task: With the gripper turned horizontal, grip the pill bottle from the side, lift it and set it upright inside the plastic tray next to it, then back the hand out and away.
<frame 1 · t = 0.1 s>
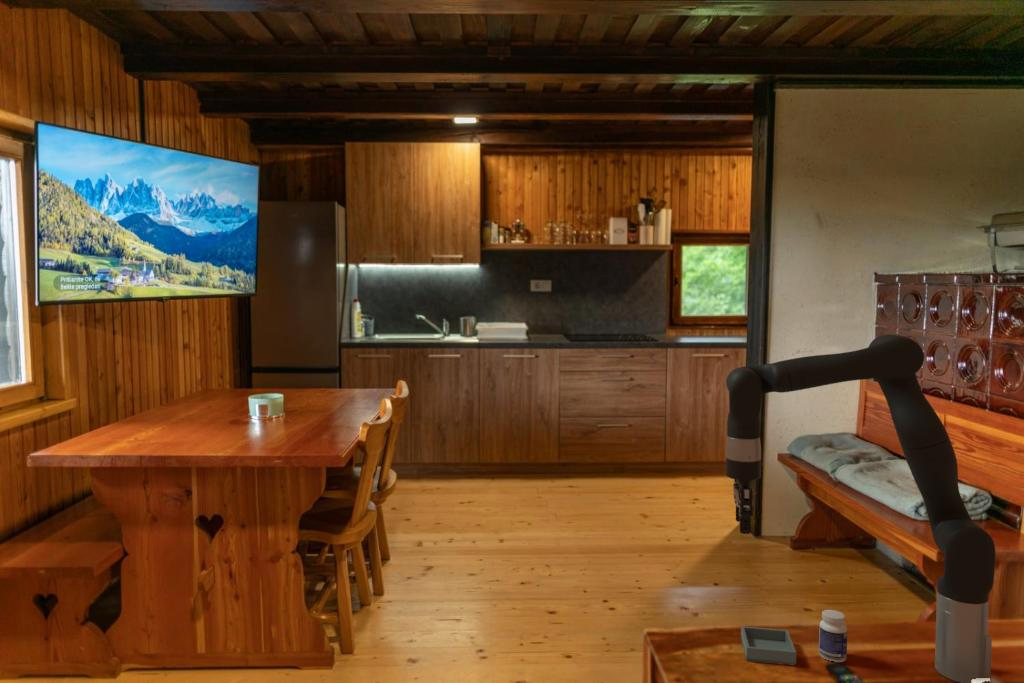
hand: (742, 527, 154), 29 cm above the table, tool pointing down, fingers open, 8 cm apart
pill bottle: (832, 657, 154), on the table
tray: (767, 651, 156), on the table
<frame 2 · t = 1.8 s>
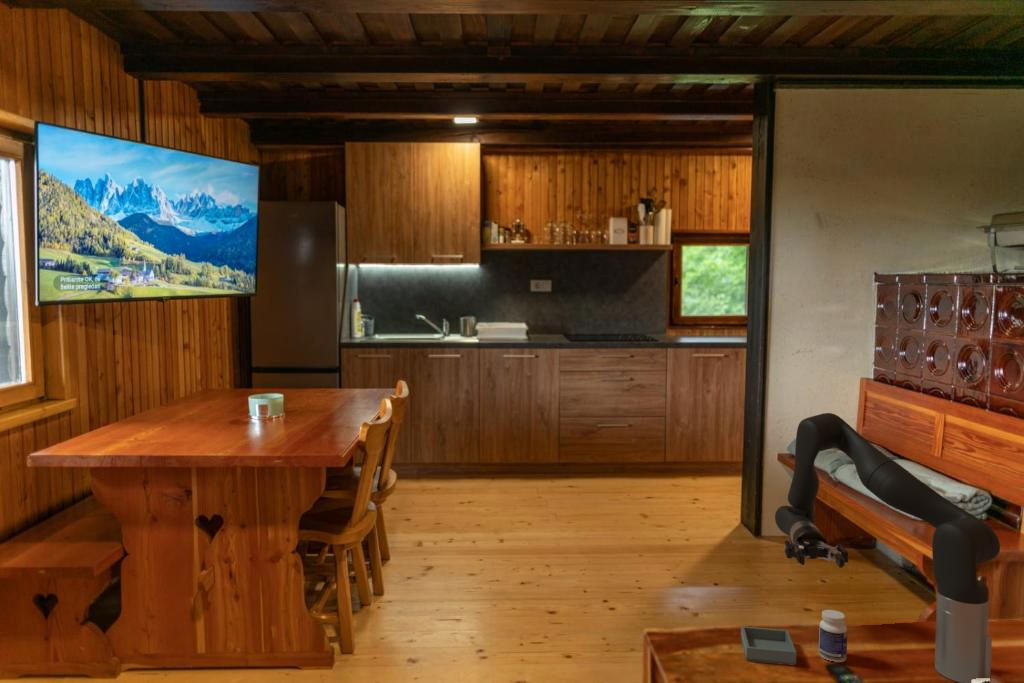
hand: (822, 562, 163), 17 cm above the table, tool horizontal, fingers open, 8 cm apart
nothing on the table moved.
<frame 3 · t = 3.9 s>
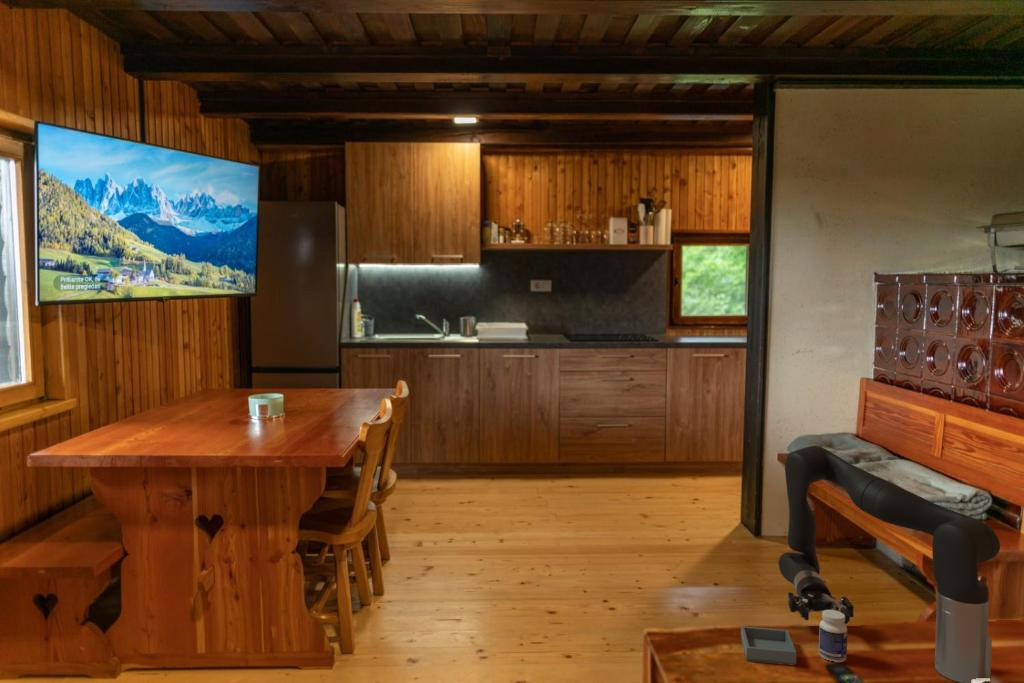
hand: (826, 618, 159), 6 cm above the table, tool horizontal, fingers open, 8 cm apart
nothing on the table moved.
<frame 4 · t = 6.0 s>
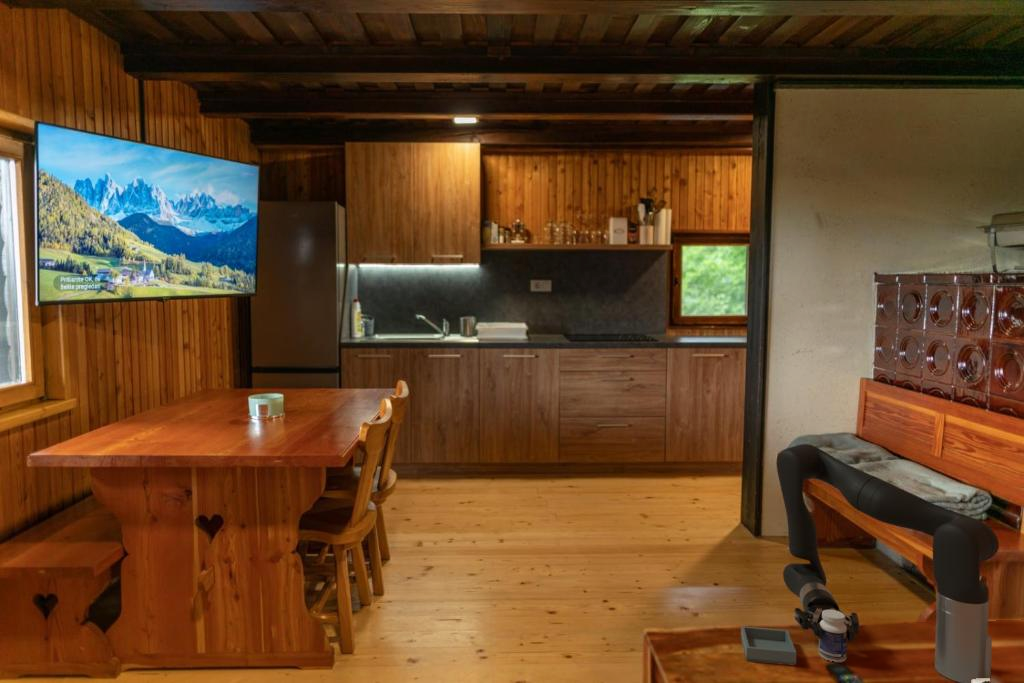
hand: (836, 635, 151), 6 cm above the table, tool horizontal, fingers closed on pill bottle, 5 cm apart
pill bottle: (832, 657, 154), on the table, touching gripper
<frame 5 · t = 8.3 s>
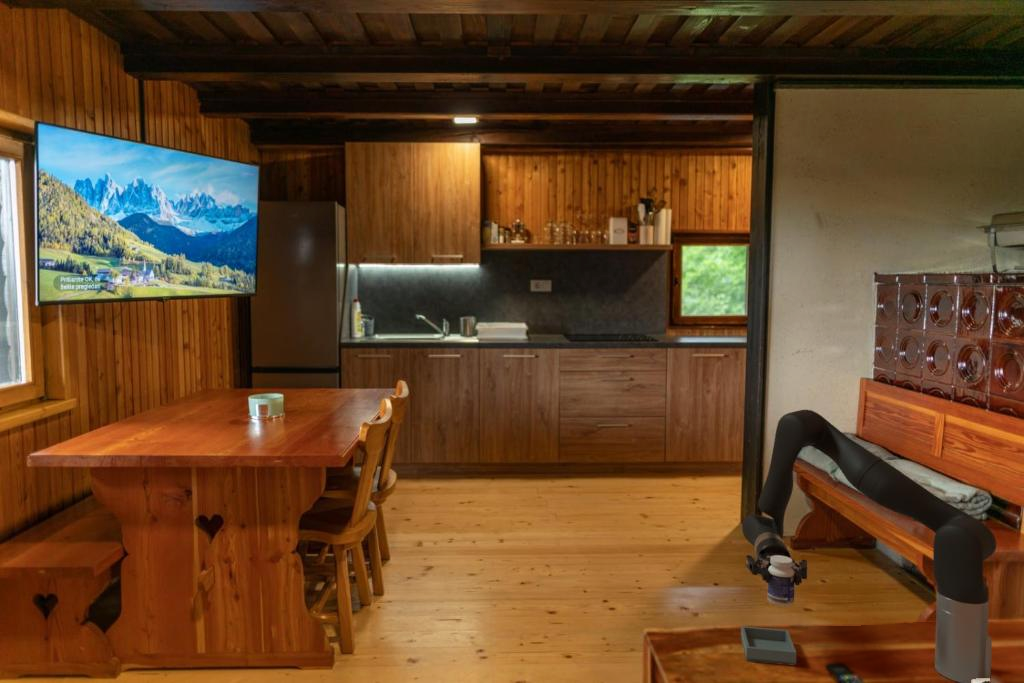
hand: (782, 579, 153), 18 cm above the table, tool horizontal, fingers closed on pill bottle, 5 cm apart
pill bottle: (780, 601, 156), point 12 cm above the table, touching gripper
when the fingers open (8 cm above the table, at t = 10.9 s): pill bottle drops 1 cm, resting on tray.
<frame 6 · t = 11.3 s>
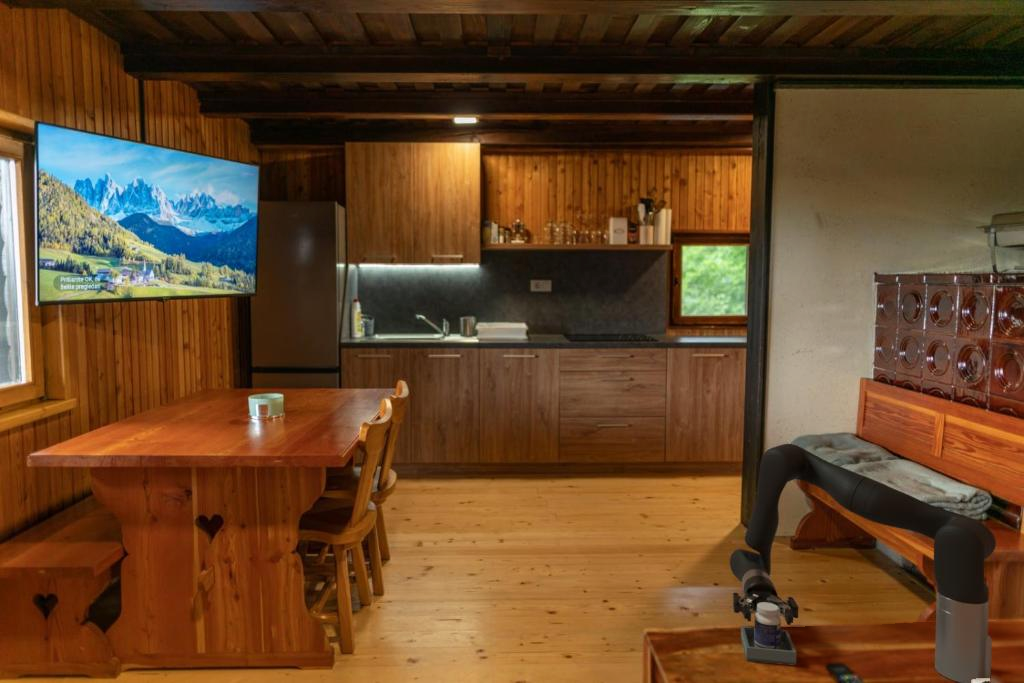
hand: (769, 619, 154), 8 cm above the table, tool horizontal, fingers open, 8 cm apart
pill bottle: (767, 649, 156), resting on tray
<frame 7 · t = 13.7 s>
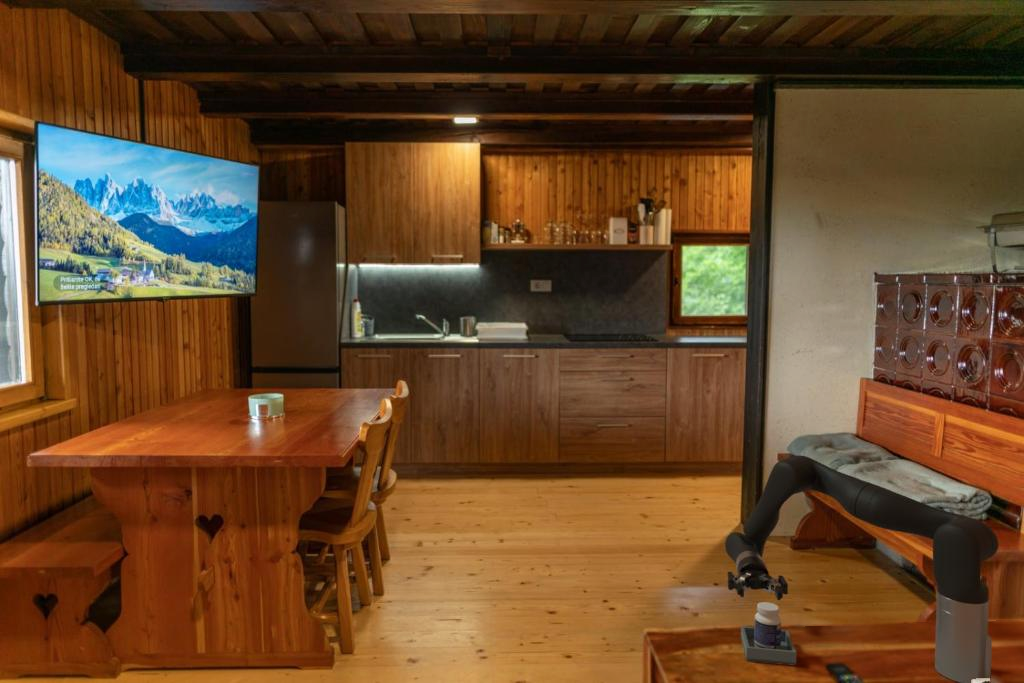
hand: (760, 594, 166), 9 cm above the table, tool horizontal, fingers open, 8 cm apart
nothing on the table moved.
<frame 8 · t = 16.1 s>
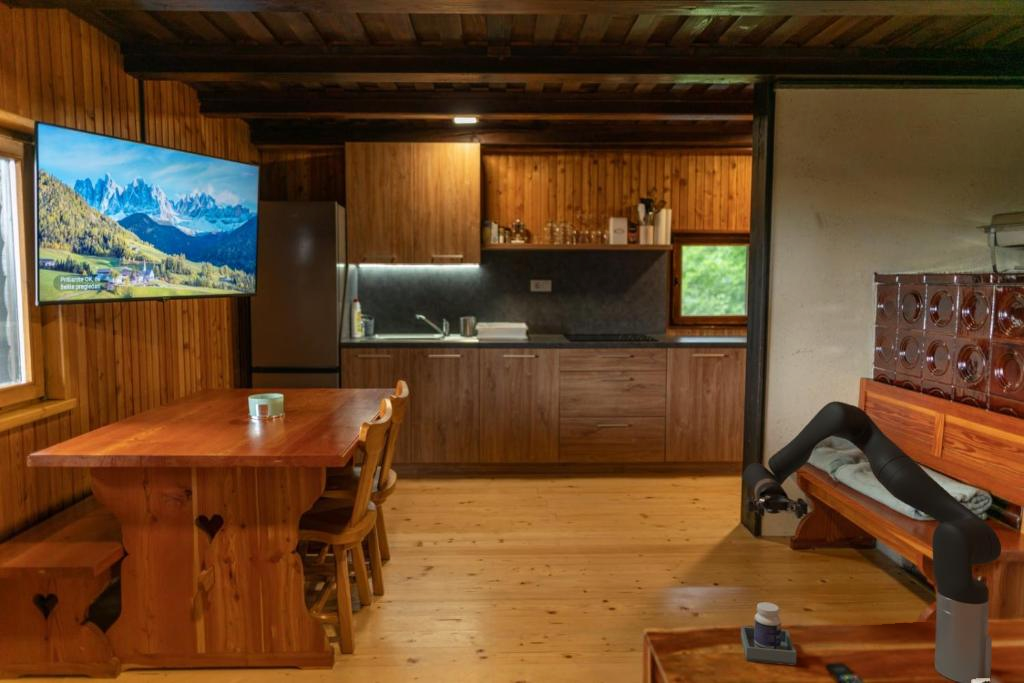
hand: (781, 513, 168), 28 cm above the table, tool horizontal, fingers open, 8 cm apart
nothing on the table moved.
at the end: pill bottle 0.1 cm off-centre on the tray, point 0.4 cm above the tray's base; pill bottle tilted 1°; the gripper is holding nothing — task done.
